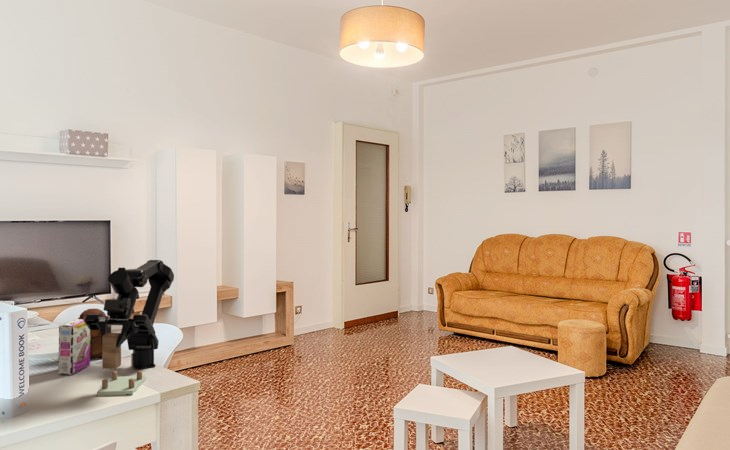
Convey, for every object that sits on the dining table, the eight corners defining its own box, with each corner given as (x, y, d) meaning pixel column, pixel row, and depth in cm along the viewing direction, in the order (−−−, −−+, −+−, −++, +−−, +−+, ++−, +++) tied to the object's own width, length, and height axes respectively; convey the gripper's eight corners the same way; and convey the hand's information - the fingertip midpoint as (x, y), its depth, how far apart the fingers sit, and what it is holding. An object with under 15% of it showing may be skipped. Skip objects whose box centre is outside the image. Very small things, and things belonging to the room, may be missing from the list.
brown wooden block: (107, 365, 163) (107, 332, 162) (121, 365, 163) (120, 333, 162) (102, 368, 159) (102, 335, 159) (115, 368, 159) (115, 335, 159)
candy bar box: (72, 375, 174) (72, 325, 174) (57, 375, 174) (57, 325, 174) (91, 365, 185) (91, 318, 185) (77, 365, 186) (77, 318, 185)
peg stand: (113, 380, 170) (113, 368, 170) (146, 379, 171) (146, 368, 171) (96, 395, 156) (97, 383, 156) (132, 394, 157) (132, 382, 157)
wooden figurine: (73, 361, 190) (73, 311, 190) (77, 356, 196) (77, 308, 196) (110, 358, 194) (110, 309, 193) (112, 354, 200) (112, 306, 199)
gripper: (86, 288, 164) (67, 332, 153) (147, 288, 164) (133, 333, 154) (98, 308, 172) (82, 351, 161) (157, 308, 172) (144, 352, 162)
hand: (109, 346), depth 159 cm, fingers closed on brown wooden block, 4 cm apart
